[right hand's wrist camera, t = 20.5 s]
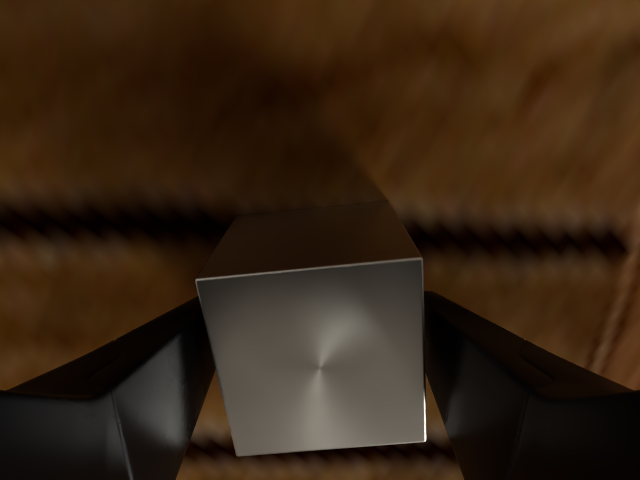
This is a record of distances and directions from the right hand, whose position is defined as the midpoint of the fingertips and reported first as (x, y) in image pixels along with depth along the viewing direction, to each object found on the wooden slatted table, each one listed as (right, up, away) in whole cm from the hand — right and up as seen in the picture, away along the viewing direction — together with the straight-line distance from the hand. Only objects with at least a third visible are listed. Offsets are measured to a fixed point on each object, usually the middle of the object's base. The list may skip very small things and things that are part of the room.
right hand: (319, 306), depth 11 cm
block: (0, +1, +2) cm, 2 cm away
